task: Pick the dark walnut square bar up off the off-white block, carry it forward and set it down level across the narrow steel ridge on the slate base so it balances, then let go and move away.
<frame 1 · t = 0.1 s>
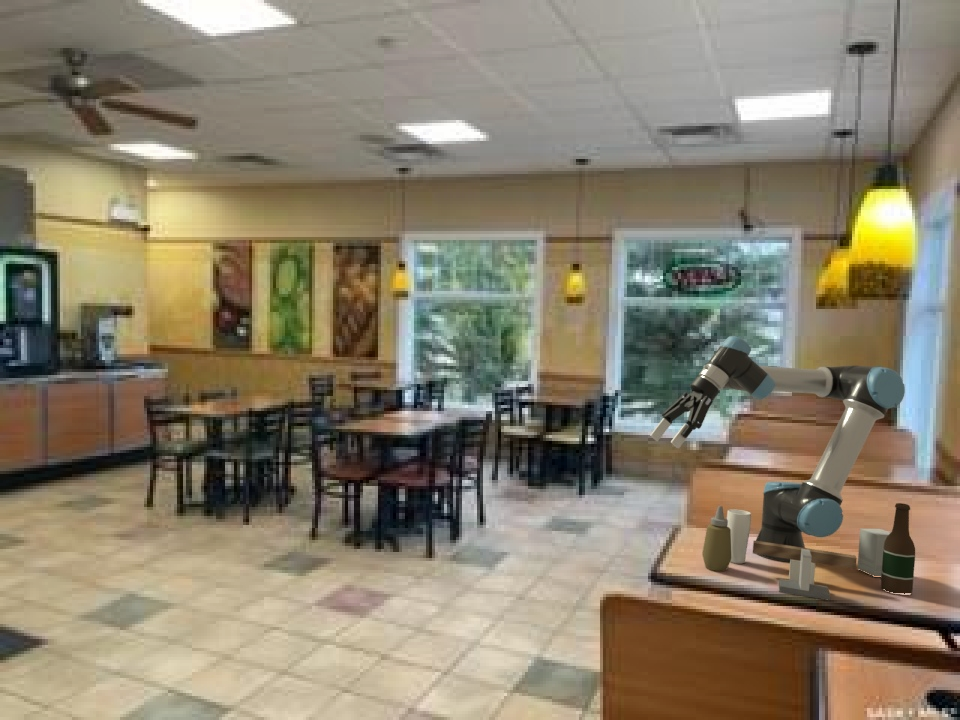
hand: (663, 442, 201), 36 cm above the table, tool tilted 35°, fingers open, 13 cm apart
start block: (801, 581, 198), on the table
drinking glass: (735, 562, 213), on the table
squeeze bottle: (715, 569, 205), on the table
walnut bar: (802, 559, 198), point 6 cm above the table, touching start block
ridge stand: (803, 592, 189), on the table
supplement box: (875, 574, 210), on the table
beer bottle: (895, 592, 195), on the table
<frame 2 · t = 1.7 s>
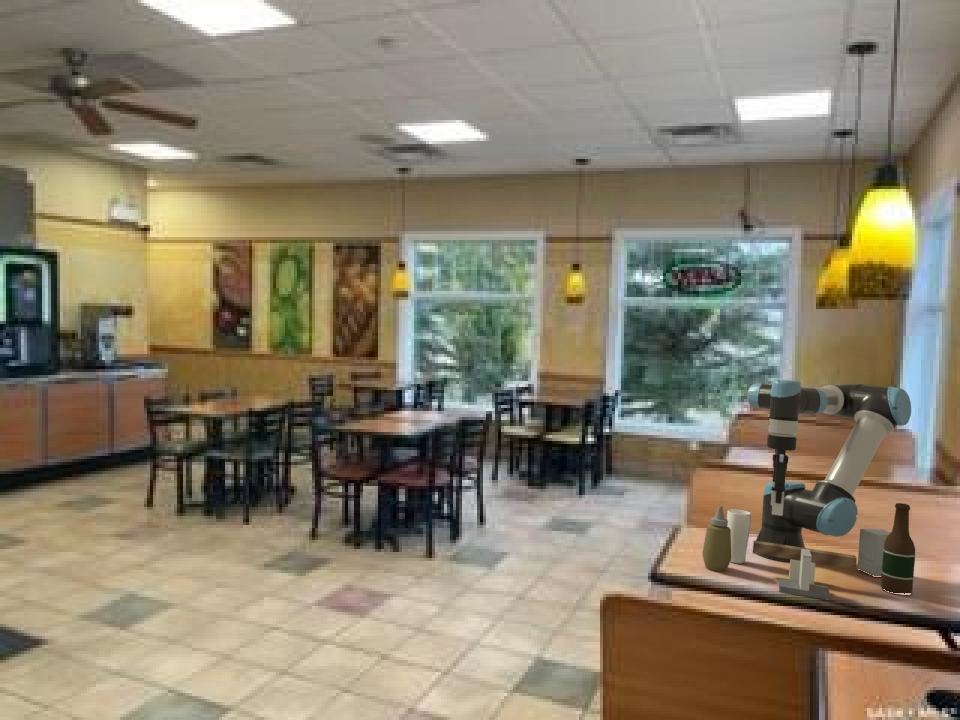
hand: (776, 510, 200), 19 cm above the table, tool pointing down, fingers open, 13 cm apart
nothing on the table moved.
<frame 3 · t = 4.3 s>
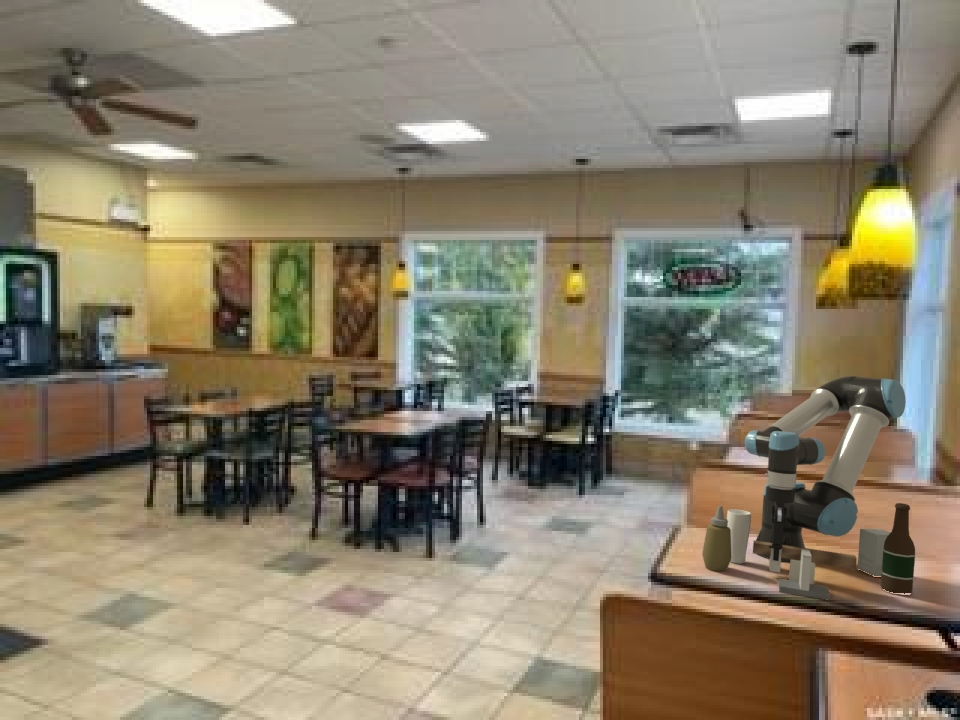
hand: (774, 569, 201), 2 cm above the table, tool pointing down, fingers closed on walnut bar, 3 cm apart
walnut bar: (802, 559, 198), point 6 cm above the table, touching gripper
everything else where it was.
when the fingers open (8 cm above the table, at t = 9.2 s): walnut bar drops 1 cm, resting on ridge stand.
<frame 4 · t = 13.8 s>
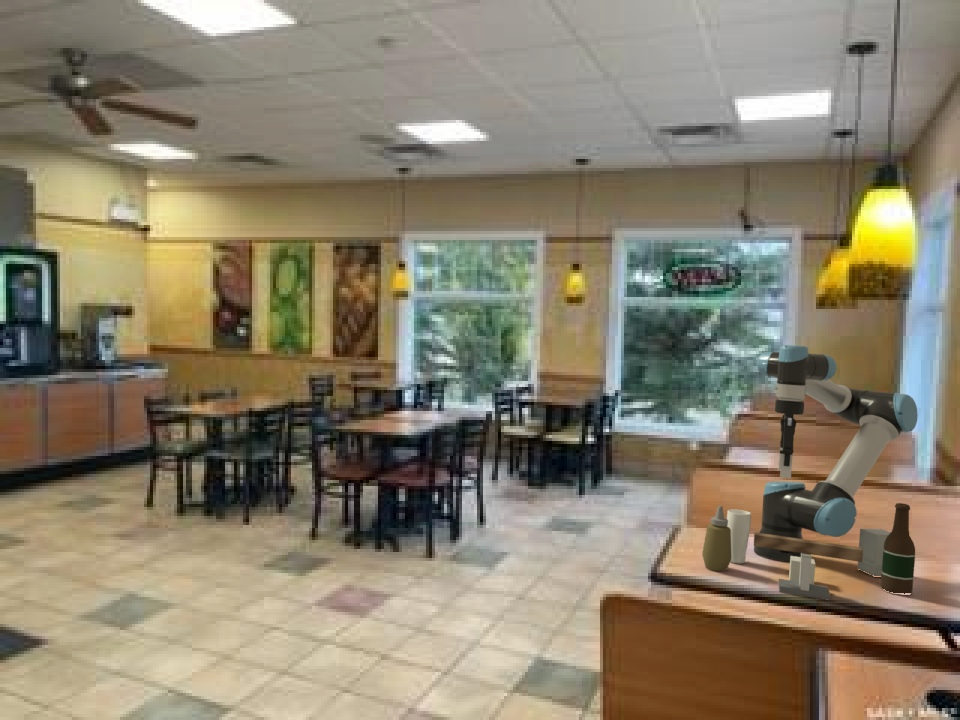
hand: (784, 474, 203), 29 cm above the table, tool pointing down, fingers open, 13 cm apart
walnut bar: (806, 552, 189), point 11 cm above the table, touching ridge stand
everything else where it was.
at the end: walnut bar point 10.6 cm above the table; walnut bar tilted 0°; the gripper is holding nothing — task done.
